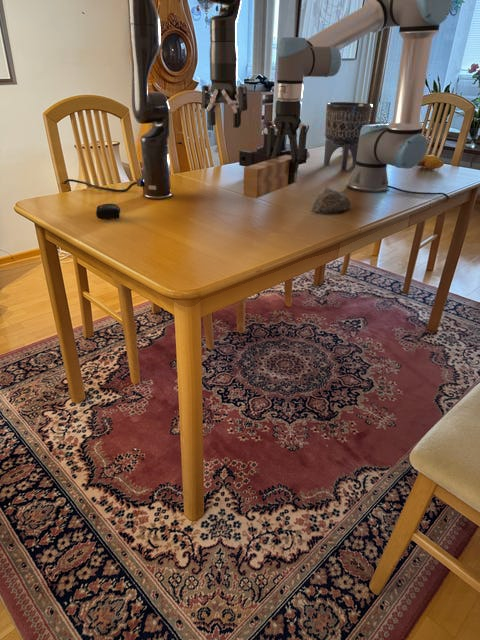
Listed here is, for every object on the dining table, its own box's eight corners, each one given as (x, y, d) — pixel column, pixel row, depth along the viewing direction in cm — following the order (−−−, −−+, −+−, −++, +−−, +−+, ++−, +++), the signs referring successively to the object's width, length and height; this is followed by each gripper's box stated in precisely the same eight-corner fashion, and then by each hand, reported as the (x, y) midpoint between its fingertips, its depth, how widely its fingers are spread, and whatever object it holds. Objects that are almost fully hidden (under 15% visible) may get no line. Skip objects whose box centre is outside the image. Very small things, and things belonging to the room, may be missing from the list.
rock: (335, 203, 156) (338, 184, 153) (355, 209, 151) (359, 189, 148) (309, 210, 149) (311, 190, 145) (329, 217, 143) (332, 196, 140)
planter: (313, 167, 208) (319, 103, 195) (331, 160, 222) (338, 101, 209) (353, 173, 199) (362, 107, 185) (369, 166, 213) (379, 104, 199)
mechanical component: (240, 120, 182) (283, 115, 202) (239, 174, 192) (280, 164, 212) (283, 126, 170) (325, 120, 190) (280, 183, 180) (320, 171, 200)
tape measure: (96, 222, 135) (94, 209, 133) (99, 215, 140) (97, 203, 139) (120, 221, 136) (118, 209, 134) (121, 214, 141) (120, 202, 139)
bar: (284, 180, 147) (285, 154, 143) (296, 182, 145) (298, 156, 141) (243, 195, 130) (243, 167, 126) (256, 198, 128) (257, 169, 124)
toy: (418, 162, 205) (412, 155, 217) (420, 176, 207) (414, 168, 220) (444, 154, 201) (436, 147, 214) (446, 168, 204) (438, 161, 217)
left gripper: (194, 61, 124) (197, 125, 132) (237, 61, 117) (237, 129, 125) (211, 62, 129) (212, 123, 137) (253, 62, 122) (252, 126, 130)
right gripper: (256, 98, 132) (253, 180, 144) (310, 102, 124) (303, 188, 136) (269, 97, 138) (265, 175, 150) (322, 101, 129) (314, 183, 141)
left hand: (224, 126), depth 131 cm, fingers open, 8 cm apart
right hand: (283, 181), depth 143 cm, fingers closed on bar, 5 cm apart
